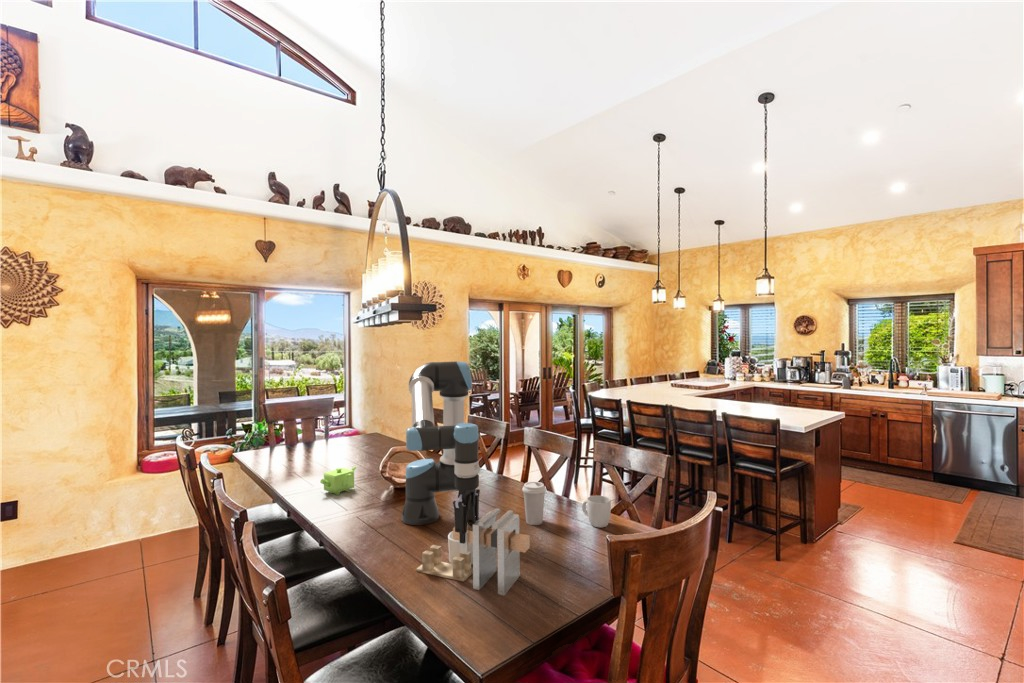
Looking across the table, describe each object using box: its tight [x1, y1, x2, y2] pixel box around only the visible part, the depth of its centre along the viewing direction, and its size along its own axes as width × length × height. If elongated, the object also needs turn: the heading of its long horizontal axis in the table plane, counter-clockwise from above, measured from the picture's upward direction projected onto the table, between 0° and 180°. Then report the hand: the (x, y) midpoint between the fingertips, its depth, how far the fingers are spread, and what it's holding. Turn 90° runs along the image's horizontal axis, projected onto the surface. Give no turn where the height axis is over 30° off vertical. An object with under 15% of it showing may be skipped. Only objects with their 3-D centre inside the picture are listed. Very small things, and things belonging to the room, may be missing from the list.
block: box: [452, 524, 531, 553], centre depth 142 cm, size 24×4×4 cm, turn 67°
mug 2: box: [581, 495, 612, 529], centre depth 185 cm, size 13×9×10 cm
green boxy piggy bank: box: [320, 465, 358, 496], centre depth 226 cm, size 15×14×11 cm
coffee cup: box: [521, 481, 547, 526], centre depth 187 cm, size 10×10×15 cm
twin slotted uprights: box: [472, 507, 521, 596], centre depth 141 cm, size 10×12×20 cm
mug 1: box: [447, 530, 473, 565], centre depth 157 cm, size 13×10×8 cm
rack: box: [416, 544, 473, 582], centre depth 148 cm, size 17×7×6 cm, turn 67°
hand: (467, 549), depth 145 cm, fingers closed on block, 4 cm apart
